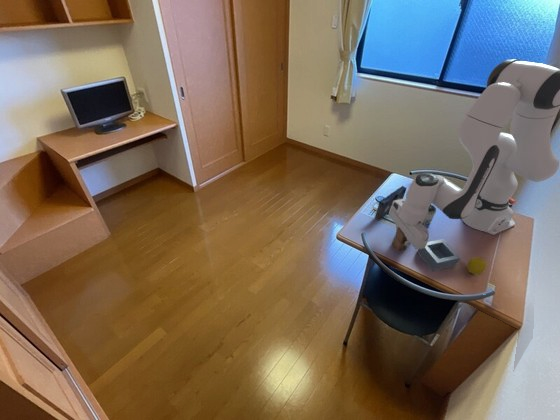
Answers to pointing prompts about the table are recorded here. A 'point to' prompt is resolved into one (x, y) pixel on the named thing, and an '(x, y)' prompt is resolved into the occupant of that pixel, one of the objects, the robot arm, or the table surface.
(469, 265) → the lemon
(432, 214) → the camera lens
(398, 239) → the walnut spigot peg
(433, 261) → the docking socket
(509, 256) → the table surface
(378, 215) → the vhs cassette tape
